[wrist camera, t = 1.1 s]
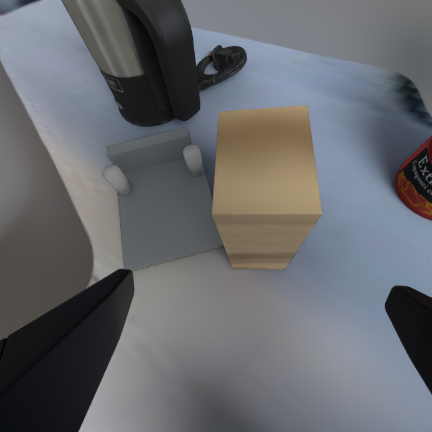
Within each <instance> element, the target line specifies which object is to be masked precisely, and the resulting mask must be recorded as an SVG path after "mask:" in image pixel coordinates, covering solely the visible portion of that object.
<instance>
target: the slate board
mask: <svg viewBox="0 0 432 432" xmlns="http://www.w3.org/2000/svg"><path fill="white" fill-rule="evenodd" d="M107 154H108V157H109V159H110V160H111V161H112V162H113V164H114V165H109V166H107V167H106V168H105V169H104V170H103V172H102V175H103V177H104V178H105V179H106V180H107V181H108V182H109V183H110V185H111V186H112V187H113V188H114V189H115V190H116V191H117V192H118V202H119V214H120V225H121V237H122V248H123V260H124V269H130V270H132V271H135V270H138V269H142V268H146V267H149V266H153V265H157V264H161V263H164V262H168V261H172V260H175V259H179V258H183V257H187V256H190V255H194V254H198V253H202V252H205V251H209V250H213V249H216V248H220V247H224V245H223V242H222V239H221V237H220V234H219V232H218V229H217V226H216V224H215V221H214V218H213V216H212V207H213V199H212V195H211V192H210V188H209V185H208V181H207V177H206V174H205V170H204V166H203V162H202V157H201V152H200V148H199V147H198V146H197V145H192V143H191V139H190V135H189V132H188V128H187V127H184V128H180V129H176V130H172V131H168V132H164V133H160V134H156V135H152V136H148V137H144V138H140V139H136V140H132V141H128V142H124V143H120V144H116V145H112V146H108V147H107Z"/></svg>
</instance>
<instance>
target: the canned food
mask: <svg viewBox="0 0 432 432" xmlns="http://www.w3.org/2000/svg"><path fill="white" fill-rule="evenodd" d="M396 189H397V192H398V194H399V196H400V198H401V199H402V201H403V202H404V203H405V204H406V205H407V206H408V207H409V208H410V209H411V210H413V211H414V212H415V213H417V214H419V215H420V216H422V217H424V218H427V219H429V220H432V136H431V137H430V138H429V139H428V140H427V141H426V142H425V143H424V144H423V145H421V146H420V147H419V148H418V149H417V150H416V151H415V152H414V153H413V154H412V155H411V156H410V157H409V158H408V159H407V160H406V161H405V162H404V163H403V164H402V165H401V167H400V170H399V172H398V174H397V176H396Z"/></svg>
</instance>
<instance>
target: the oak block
mask: <svg viewBox="0 0 432 432" xmlns="http://www.w3.org/2000/svg"><path fill="white" fill-rule="evenodd" d="M321 215H322V210H321V202H320V195H319V187H318V180H317V173H316V165H315V158H314V150H313V143H312V136H311V128H310V121H309V113H308V106H293V107H279V108H265V109H251V110H237V111H223V112H219V121H218V135H217V150H216V164H215V178H214V193H213V207H212V216H213V218H214V221H215V224H216V226H217V229H218V232H219V234H220V237H221V239H222V242H223V245H224V247H225V250H226V252H227V255H228V258H229V260H230V263H231V266H232V268H233V269H260V270H285V269H286V267H287V266H288V264H289V263H290V261H291V260H292V258H293V257H294V255H295V254H296V252H297V251H298V249H299V248H300V246H301V245H302V243H303V242H304V240H305V239H306V237H307V236H308V234H309V233H310V231H311V230H312V228H313V227H314V225H315V224H316V222H317V221H318V219H319V218H320V216H321Z"/></svg>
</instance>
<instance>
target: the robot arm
mask: <svg viewBox="0 0 432 432" xmlns="http://www.w3.org/2000/svg"><path fill="white" fill-rule="evenodd" d="M133 296H134V279H133V272H132V270H130V269H119V270H117V271H115V272H113V273H112V274H110V275H108V276H107V277H105V278H103V279H102V280H100V281H98V282H97V283H95V284H93V285H92V286H90V287H88V288H87V289H85V290H84V291H82V292H80V293H79V294H77V295H75V296H74V297H72V298H70V299H69V300H67V301H66V302H64V303H62V304H60V305H59V306H57V307H56V308H54V309H52V310H50V311H49V312H47V313H45V314H44V315H42V316H40V317H39V318H37V319H36V320H34V321H32V322H30V323H29V324H27V325H25V326H24V327H22V328H20V329H19V330H17V331H15V332H14V333H12V334H10V335H9V336H8V338H4V339H2V340H1V341H0V432H79V430H80V427H81V425H82V423H83V420H84V418H85V416H86V414H87V411H88V409H89V407H90V405H91V402H92V400H93V398H94V396H95V393H96V391H97V389H98V387H99V384H100V382H101V380H102V378H103V375H104V373H105V371H106V369H107V366H108V364H109V362H110V360H111V357H112V355H113V353H114V350H115V348H116V346H117V344H118V341H119V339H120V336H121V333H122V330H123V327H124V324H125V321H126V318H127V315H128V311H129V308H130V305H131V302H132V299H133ZM385 310H386V312H387V314H388V316H389V318H390V320H391V322H392V324H393V326H394V328H395V330H396V332H397V334H398V336H399V339H400V341H401V343H402V345H403V347H404V348H405V350H406V352H407V354H408V356H409V358H410V359H411V361H412V363H413V365H414V366H415V368H416V370H417V371H418V373H419V374H420V376H421V378H422V379H423V381H424V383H425V384H426V386H427V388H428V389H429V391H430V392H431V394H432V298H431V297H429V296H427V295H425V294H423V293H421V292H419V291H417V290H415V289H413V288H411V287H408V286H394V287H393V288H392V289H391V291H390V293H389V296H388V298H387V300H386V302H385Z"/></svg>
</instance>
